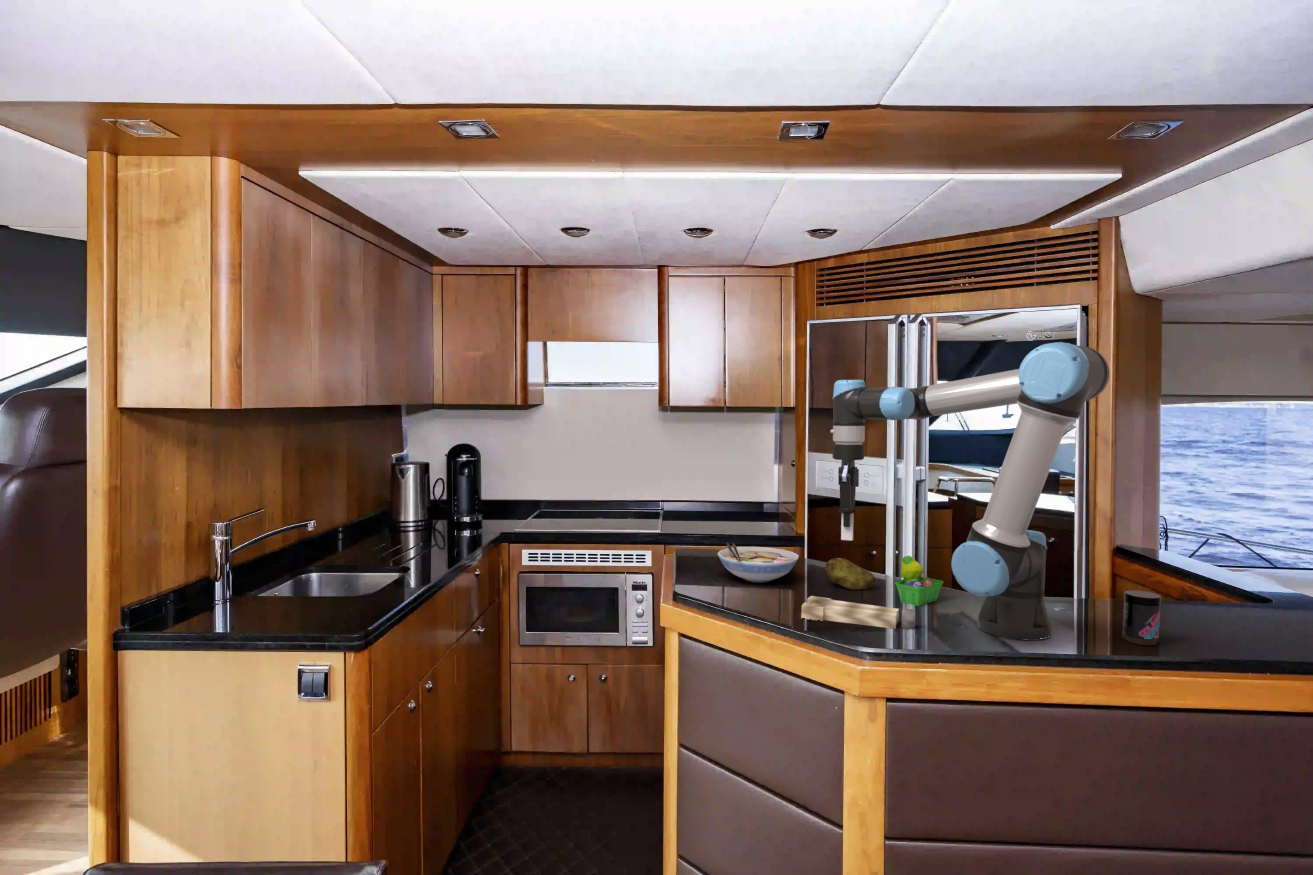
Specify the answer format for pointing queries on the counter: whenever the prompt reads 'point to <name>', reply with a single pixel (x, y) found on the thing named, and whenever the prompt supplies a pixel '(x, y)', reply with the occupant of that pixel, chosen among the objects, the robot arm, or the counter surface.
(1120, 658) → the counter surface
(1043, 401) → the robot arm
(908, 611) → the tongs fixed
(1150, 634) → the supplement container
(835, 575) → the potato
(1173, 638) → the counter surface
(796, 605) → the counter surface
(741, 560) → the ramen bowl
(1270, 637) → the counter surface
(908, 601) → the fruit basket
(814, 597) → the bar
